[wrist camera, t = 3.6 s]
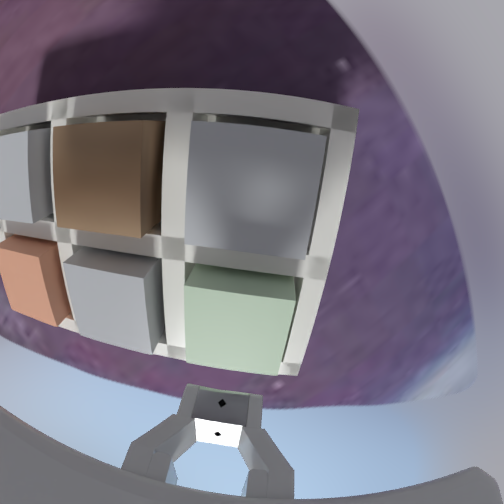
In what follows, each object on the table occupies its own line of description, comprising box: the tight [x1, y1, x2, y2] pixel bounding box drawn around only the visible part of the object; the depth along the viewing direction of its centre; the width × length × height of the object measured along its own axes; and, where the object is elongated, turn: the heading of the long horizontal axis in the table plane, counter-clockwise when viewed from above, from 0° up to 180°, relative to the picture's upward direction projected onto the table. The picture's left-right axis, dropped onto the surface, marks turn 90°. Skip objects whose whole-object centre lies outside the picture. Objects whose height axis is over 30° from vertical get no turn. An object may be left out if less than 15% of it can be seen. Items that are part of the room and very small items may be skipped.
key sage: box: [184, 263, 296, 376], centre depth 15 cm, size 5×5×3 cm
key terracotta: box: [0, 234, 71, 327], centre depth 15 cm, size 5×5×3 cm
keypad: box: [0, 88, 359, 376], centre depth 15 cm, size 15×22×6 cm
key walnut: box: [53, 120, 166, 238], centre depth 12 cm, size 5×5×3 cm
